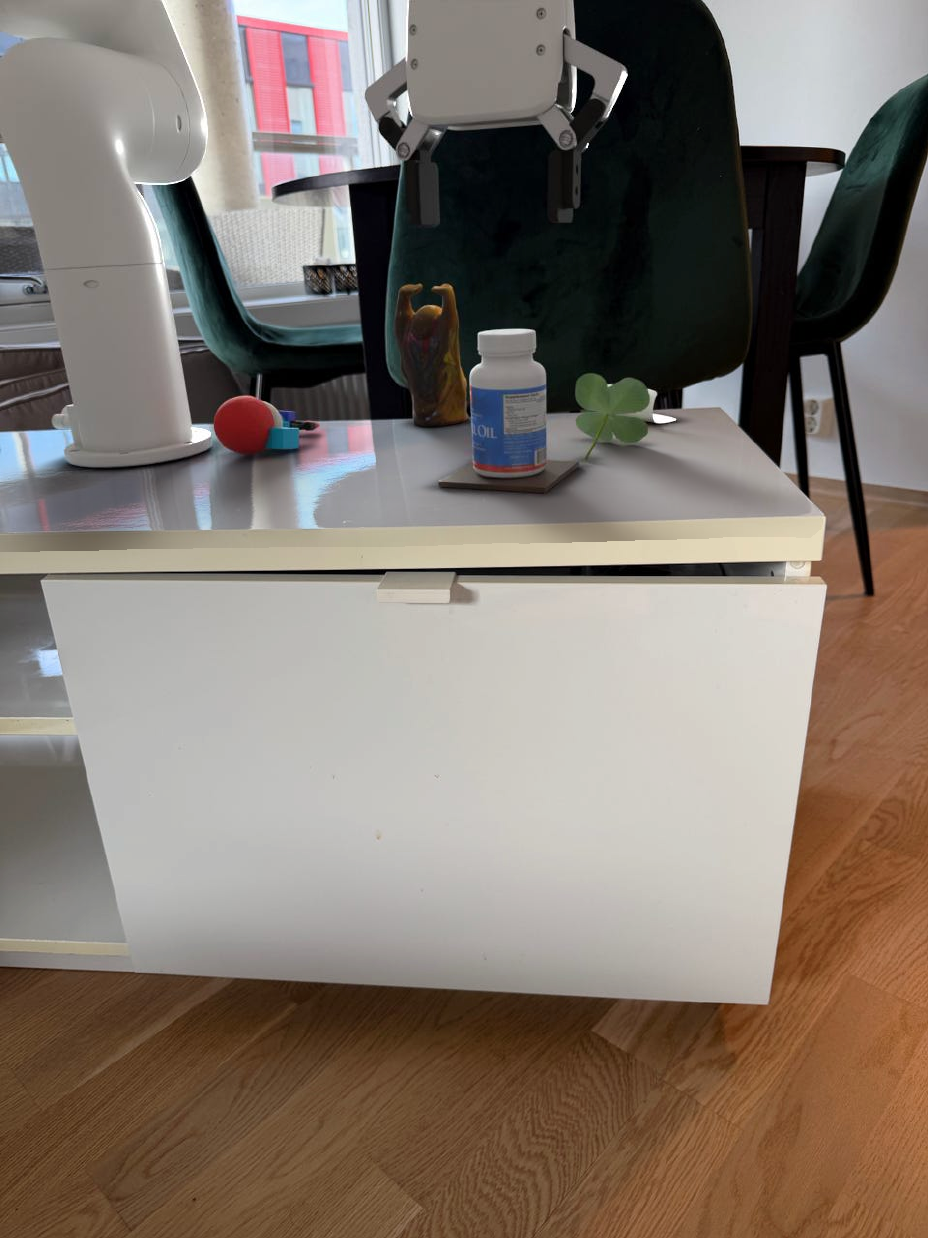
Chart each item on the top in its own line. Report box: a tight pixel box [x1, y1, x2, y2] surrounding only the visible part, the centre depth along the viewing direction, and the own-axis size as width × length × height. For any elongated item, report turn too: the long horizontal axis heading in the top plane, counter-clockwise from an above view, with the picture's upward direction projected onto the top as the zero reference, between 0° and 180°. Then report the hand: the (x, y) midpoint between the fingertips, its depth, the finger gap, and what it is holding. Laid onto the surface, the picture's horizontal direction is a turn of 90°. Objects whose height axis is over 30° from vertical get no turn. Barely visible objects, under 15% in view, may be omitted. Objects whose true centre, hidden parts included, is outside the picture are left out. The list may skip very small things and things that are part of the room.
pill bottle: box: [469, 328, 548, 478], centre depth 62 cm, size 6×5×10 cm
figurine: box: [393, 283, 469, 428], centre depth 85 cm, size 6×7×13 cm
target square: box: [437, 459, 580, 494], centre depth 64 cm, size 8×8×1 cm
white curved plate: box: [607, 383, 677, 424], centre depth 83 cm, size 4×8×3 cm, turn 31°
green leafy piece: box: [574, 372, 650, 461], centre depth 70 cm, size 7×8×7 cm
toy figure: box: [213, 395, 320, 455], centre depth 79 cm, size 8×5×15 cm
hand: (490, 224), depth 58 cm, fingers open, 9 cm apart
